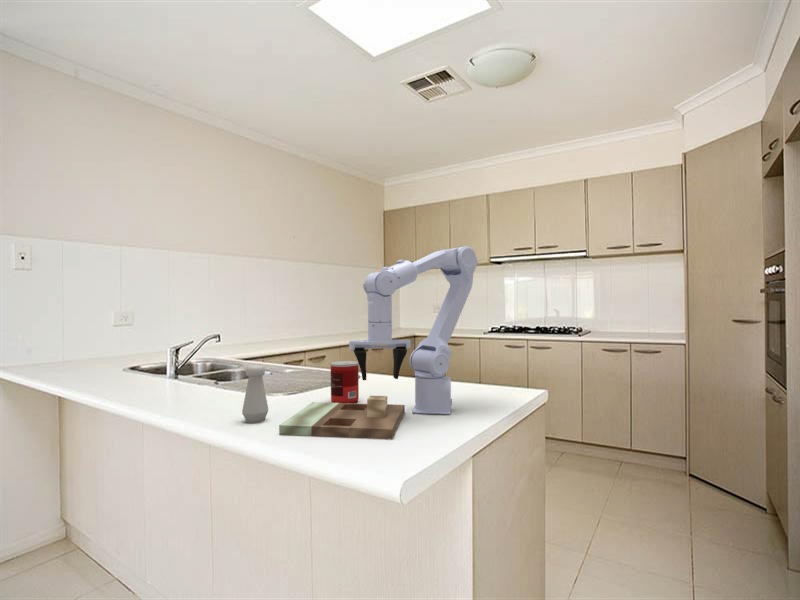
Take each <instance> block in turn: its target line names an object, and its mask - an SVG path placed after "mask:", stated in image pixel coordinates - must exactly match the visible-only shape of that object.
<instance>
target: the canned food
mask: <svg viewBox="0 0 800 600" xmlns="http://www.w3.org/2000/svg"><path fill="white" fill-rule="evenodd" d="M359 389H360V388H359V363H358V361H354V360H340V361H339V360H338V361H332V362H331V363H330V400H331V403H358V402H359V395H360V394H359Z"/></svg>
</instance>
